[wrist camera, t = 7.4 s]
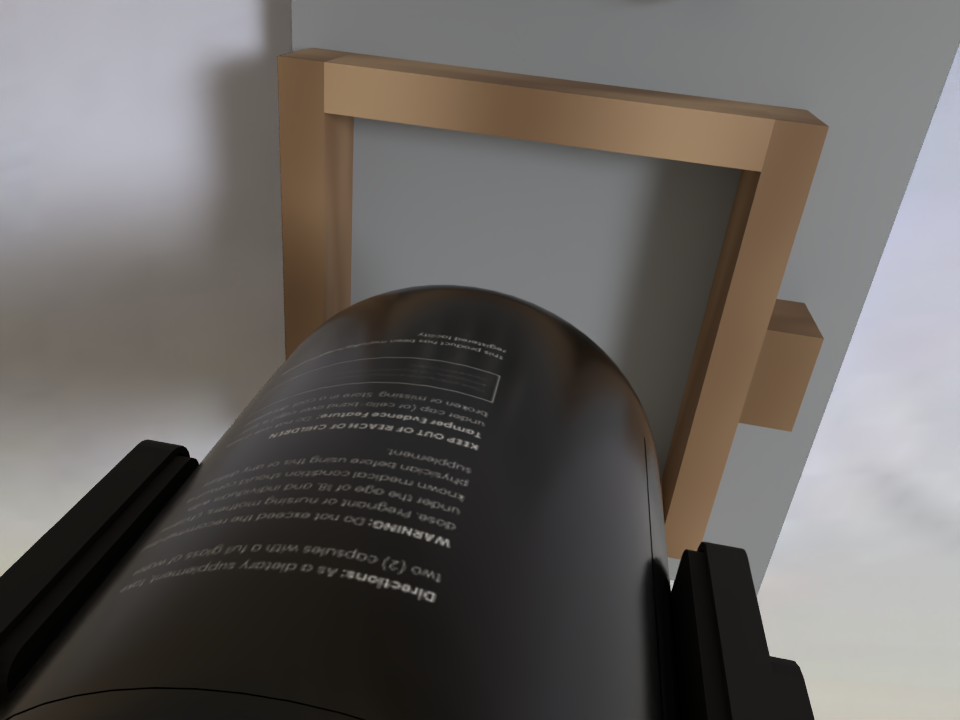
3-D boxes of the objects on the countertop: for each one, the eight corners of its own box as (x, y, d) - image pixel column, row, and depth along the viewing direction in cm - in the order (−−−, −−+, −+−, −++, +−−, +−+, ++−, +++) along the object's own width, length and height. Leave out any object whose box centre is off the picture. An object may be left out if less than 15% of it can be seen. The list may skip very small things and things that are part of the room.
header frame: (865, 117, 16) (895, 135, 14) (733, 521, 21) (743, 571, 19) (313, 47, 17) (277, 56, 15) (315, 444, 22) (289, 484, 21)
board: (994, -122, 15) (1061, -139, 12) (751, 568, 23) (764, 632, 21) (309, -185, 16) (257, -210, 14) (314, 485, 25) (282, 537, 22)
